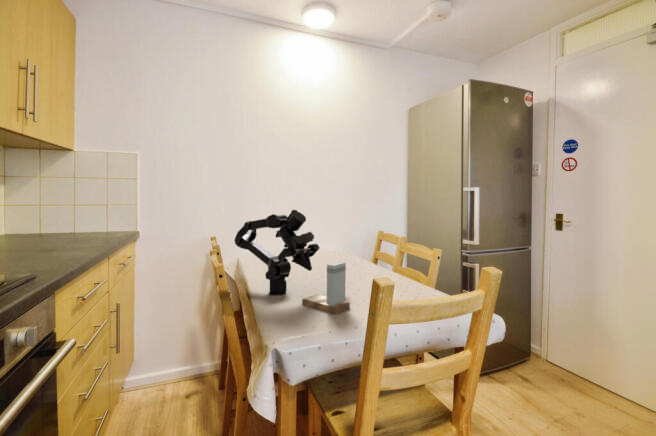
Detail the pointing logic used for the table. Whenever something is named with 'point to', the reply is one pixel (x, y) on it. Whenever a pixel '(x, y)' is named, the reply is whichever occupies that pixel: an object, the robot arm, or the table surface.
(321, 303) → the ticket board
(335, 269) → the grey tall block
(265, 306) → the table surface
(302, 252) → the robot arm
